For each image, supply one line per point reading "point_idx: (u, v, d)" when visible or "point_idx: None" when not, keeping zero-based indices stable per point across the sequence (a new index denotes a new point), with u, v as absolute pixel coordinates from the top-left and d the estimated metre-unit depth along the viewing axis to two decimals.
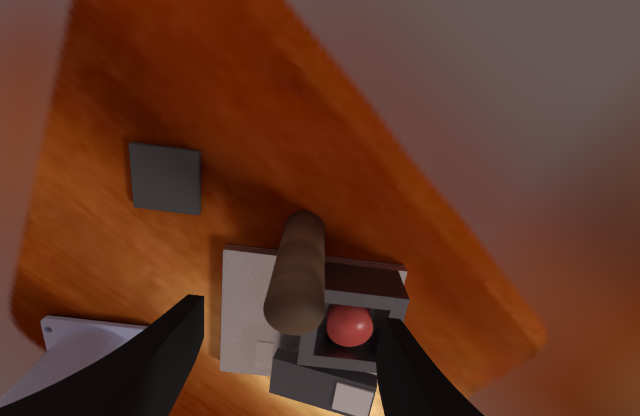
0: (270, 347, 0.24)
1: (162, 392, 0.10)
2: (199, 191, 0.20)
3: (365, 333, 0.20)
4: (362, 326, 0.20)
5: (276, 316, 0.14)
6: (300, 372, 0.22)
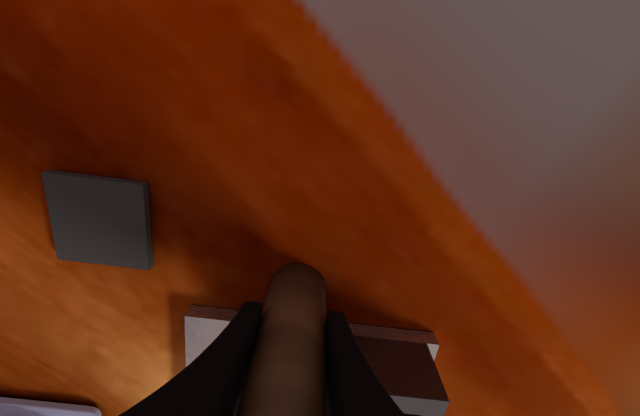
0: None
1: (235, 399, 0.10)
2: (148, 237, 0.14)
3: None
4: None
5: None
6: None
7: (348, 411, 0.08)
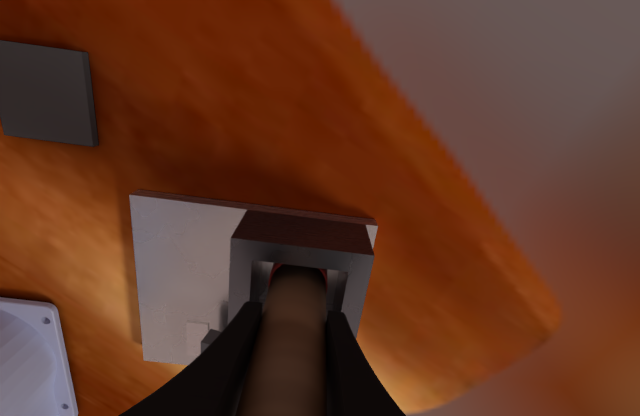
0: (205, 330, 0.19)
1: (235, 399, 0.10)
2: (91, 111, 0.15)
3: None
4: None
5: None
6: None
7: (348, 411, 0.08)
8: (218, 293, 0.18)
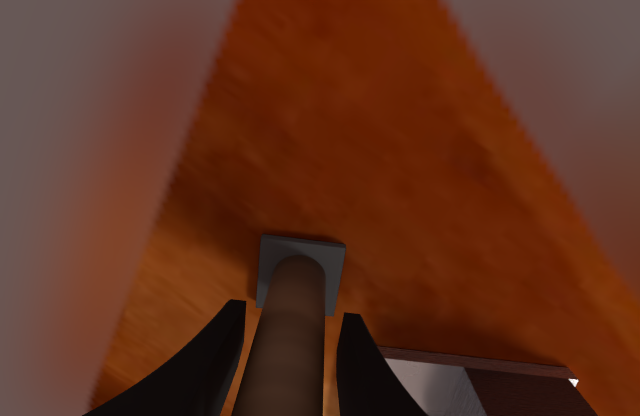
0: None
1: (215, 397, 0.10)
2: (337, 289, 0.16)
3: None
4: None
5: None
6: None
7: (374, 414, 0.08)
8: None
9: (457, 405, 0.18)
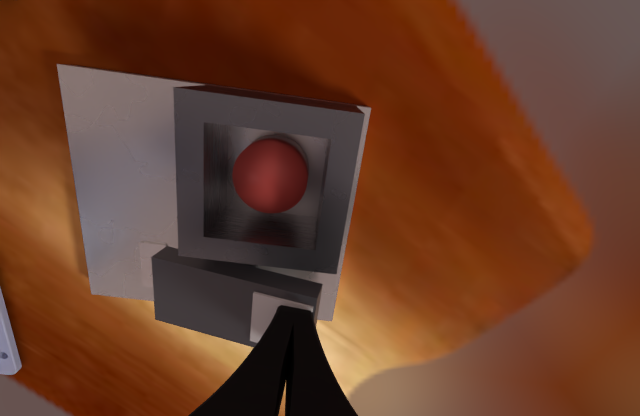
0: None
1: (277, 404, 0.10)
2: None
3: (296, 187, 0.12)
4: (289, 173, 0.12)
5: None
6: (195, 278, 0.13)
7: (294, 406, 0.08)
8: (176, 202, 0.14)
9: None
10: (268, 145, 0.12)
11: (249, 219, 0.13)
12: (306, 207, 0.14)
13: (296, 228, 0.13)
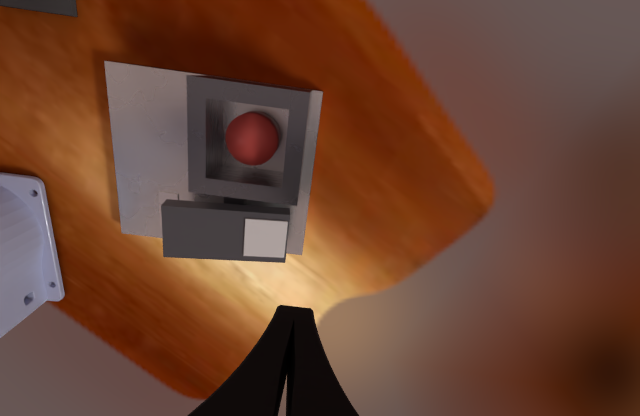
0: None
1: (277, 404, 0.10)
2: None
3: (269, 146, 0.18)
4: (264, 136, 0.18)
5: None
6: (199, 216, 0.18)
7: (296, 406, 0.08)
8: (186, 161, 0.20)
9: None
10: (249, 116, 0.17)
11: (238, 171, 0.19)
12: (279, 165, 0.20)
13: (271, 177, 0.19)
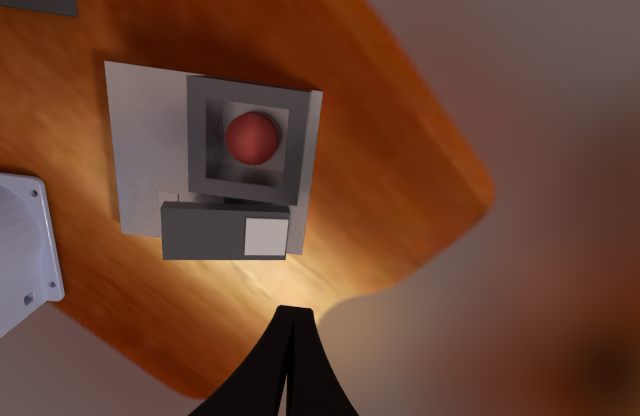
0: (175, 200, 0.21)
1: (277, 404, 0.10)
2: None
3: (269, 146, 0.18)
4: (264, 136, 0.18)
5: None
6: (199, 217, 0.18)
7: (296, 406, 0.08)
8: (186, 161, 0.20)
9: None
10: (249, 116, 0.17)
11: (238, 171, 0.19)
12: (279, 165, 0.20)
13: (271, 177, 0.19)
